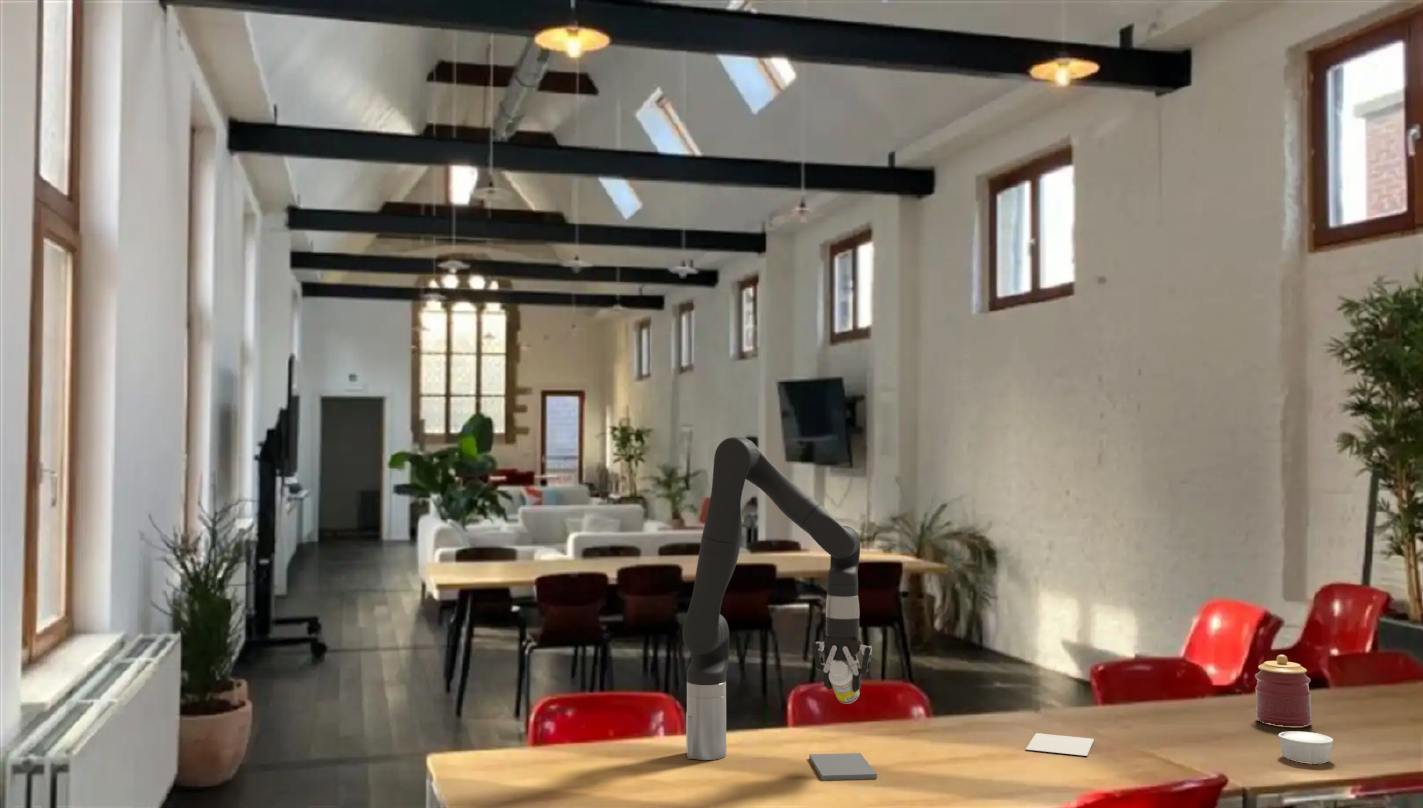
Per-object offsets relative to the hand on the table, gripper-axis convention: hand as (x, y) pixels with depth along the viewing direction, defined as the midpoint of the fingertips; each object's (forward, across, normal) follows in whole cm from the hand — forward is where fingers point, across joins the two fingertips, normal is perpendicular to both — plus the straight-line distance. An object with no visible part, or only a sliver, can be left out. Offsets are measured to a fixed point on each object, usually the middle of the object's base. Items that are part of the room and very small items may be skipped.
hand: (842, 689), depth 251 cm
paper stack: (+17, +47, +35) cm, 61 cm away
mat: (+17, 0, -1) cm, 17 cm away
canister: (+16, +92, +86) cm, 127 cm away
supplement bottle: (+2, 0, +4) cm, 5 cm away
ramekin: (+16, +95, +49) cm, 108 cm away
